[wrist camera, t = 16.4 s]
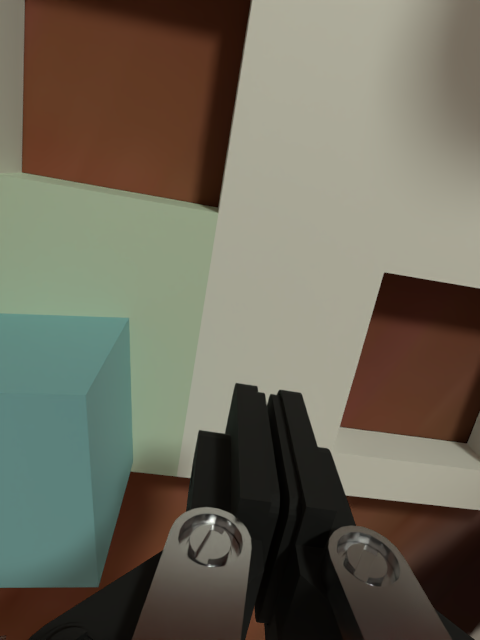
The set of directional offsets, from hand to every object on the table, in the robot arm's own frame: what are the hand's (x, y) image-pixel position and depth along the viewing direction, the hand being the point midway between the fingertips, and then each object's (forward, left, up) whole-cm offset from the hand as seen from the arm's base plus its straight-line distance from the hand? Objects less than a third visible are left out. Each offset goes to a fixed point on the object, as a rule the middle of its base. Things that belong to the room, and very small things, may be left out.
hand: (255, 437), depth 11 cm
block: (+7, +3, -5) cm, 9 cm away
